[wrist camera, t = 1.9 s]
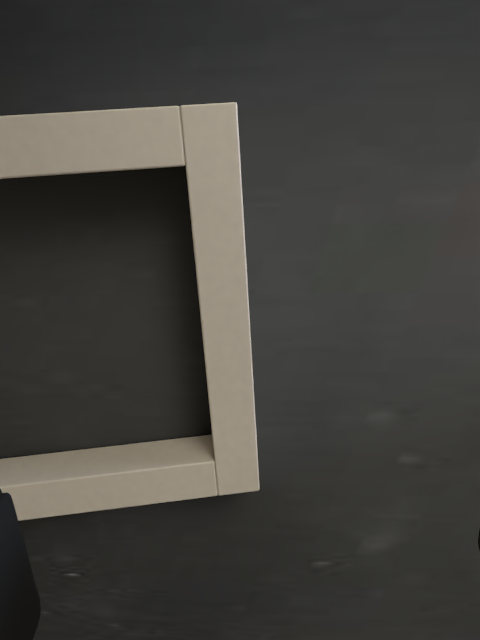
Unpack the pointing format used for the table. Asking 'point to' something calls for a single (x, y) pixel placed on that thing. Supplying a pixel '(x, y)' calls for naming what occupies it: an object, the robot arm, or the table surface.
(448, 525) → the table surface
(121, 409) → the table surface
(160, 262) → the table surface
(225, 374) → the white square frame
